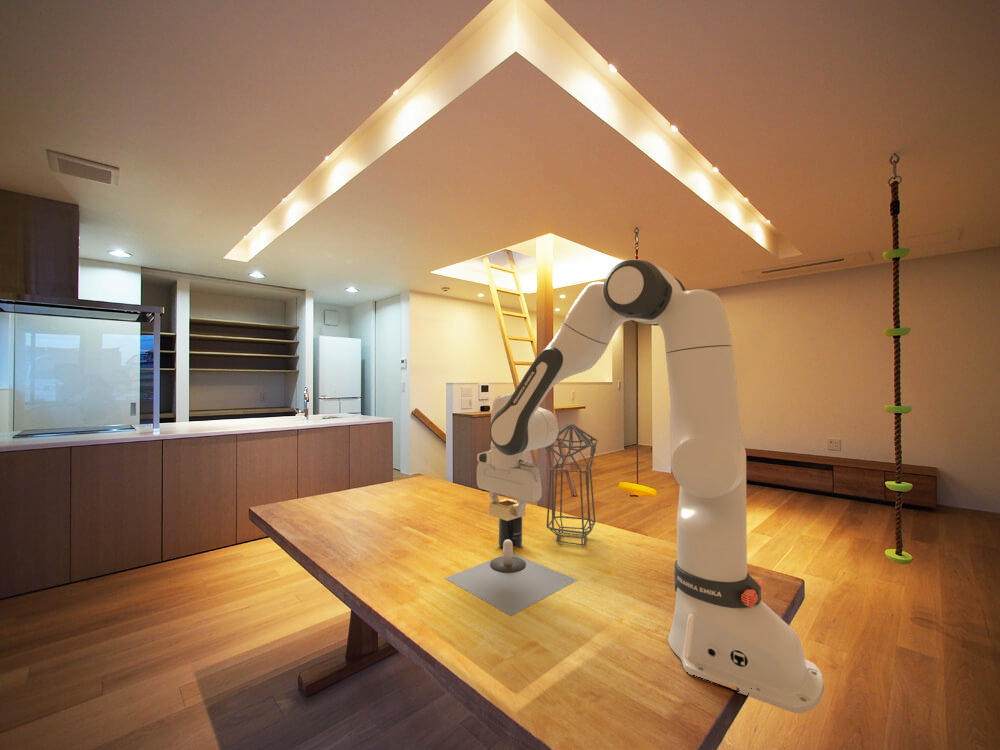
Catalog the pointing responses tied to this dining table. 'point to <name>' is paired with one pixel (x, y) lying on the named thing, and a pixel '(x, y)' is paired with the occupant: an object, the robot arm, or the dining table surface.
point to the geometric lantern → (588, 443)
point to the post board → (510, 581)
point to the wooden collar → (504, 509)
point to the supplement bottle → (510, 531)
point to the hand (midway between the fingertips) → (507, 512)
